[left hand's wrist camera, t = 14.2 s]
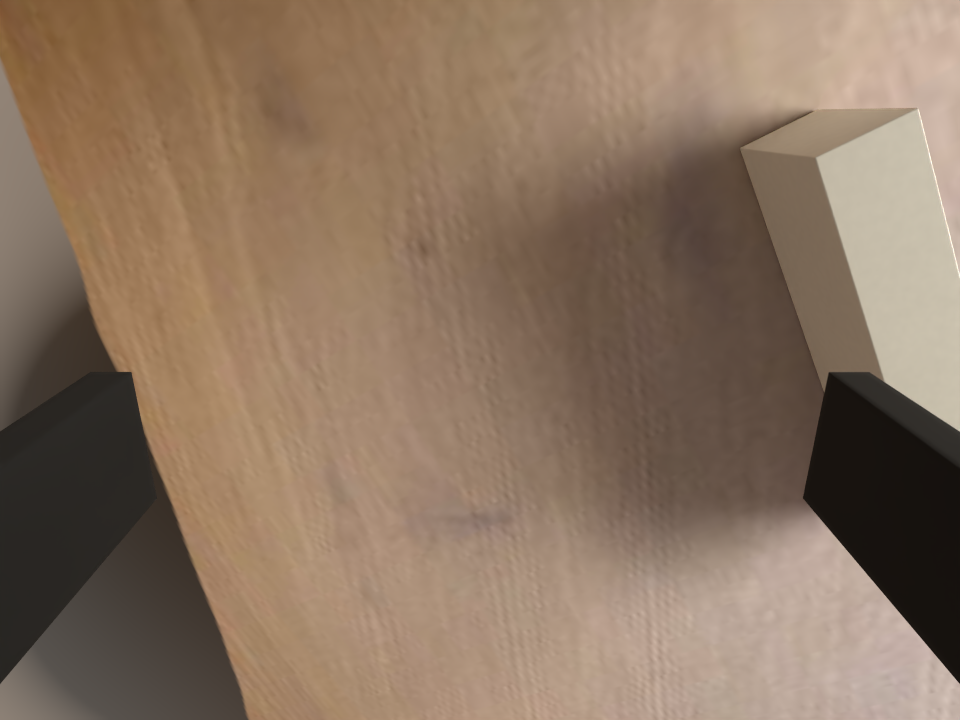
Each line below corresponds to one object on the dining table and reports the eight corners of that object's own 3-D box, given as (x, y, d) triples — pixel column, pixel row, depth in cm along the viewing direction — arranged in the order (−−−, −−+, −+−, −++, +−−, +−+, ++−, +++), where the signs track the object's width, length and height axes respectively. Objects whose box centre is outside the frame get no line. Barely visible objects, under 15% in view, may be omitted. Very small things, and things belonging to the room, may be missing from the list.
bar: (739, 147, 36) (814, 157, 28) (818, 109, 35) (919, 107, 27) (861, 502, 44) (947, 589, 36) (927, 476, 44) (1030, 559, 35)
